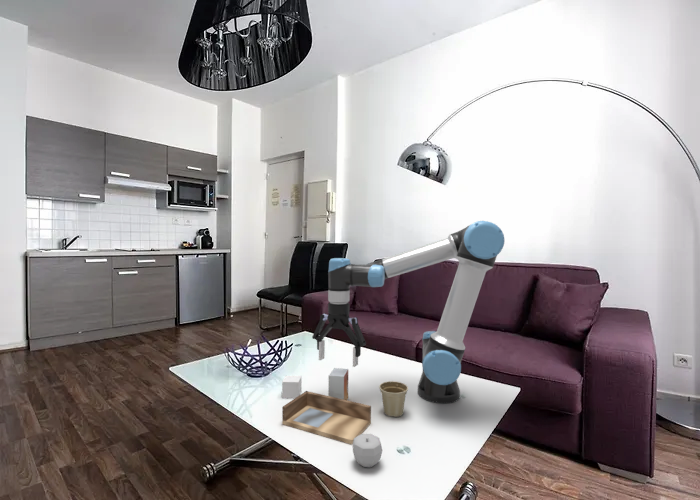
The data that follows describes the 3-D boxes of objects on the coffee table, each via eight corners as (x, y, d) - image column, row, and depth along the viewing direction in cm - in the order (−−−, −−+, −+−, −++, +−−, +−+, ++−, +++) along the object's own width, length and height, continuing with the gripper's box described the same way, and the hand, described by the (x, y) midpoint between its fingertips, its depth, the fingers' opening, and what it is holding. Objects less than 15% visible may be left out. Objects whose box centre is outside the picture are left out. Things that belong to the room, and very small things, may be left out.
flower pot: (400, 423, 108) (401, 395, 108) (374, 415, 113) (374, 388, 113) (412, 410, 116) (412, 385, 116) (386, 403, 121) (386, 379, 121)
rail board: (370, 423, 108) (370, 405, 108) (352, 444, 96) (352, 425, 96) (306, 406, 119) (306, 390, 118) (282, 424, 107) (282, 406, 107)
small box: (344, 407, 118) (344, 376, 118) (328, 406, 119) (328, 375, 119) (348, 397, 126) (348, 368, 126) (333, 396, 127) (333, 367, 127)
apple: (346, 469, 86) (346, 442, 86) (357, 451, 93) (357, 426, 93) (377, 476, 83) (378, 449, 83) (386, 457, 90) (386, 432, 90)
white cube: (285, 391, 131) (285, 375, 131) (301, 391, 131) (301, 375, 131) (282, 398, 125) (282, 381, 125) (298, 398, 125) (298, 382, 125)
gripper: (375, 303, 120) (374, 365, 120) (314, 297, 131) (313, 353, 131) (366, 307, 113) (366, 372, 113) (303, 300, 124) (302, 359, 125)
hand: (338, 362), depth 122 cm, fingers open, 13 cm apart
